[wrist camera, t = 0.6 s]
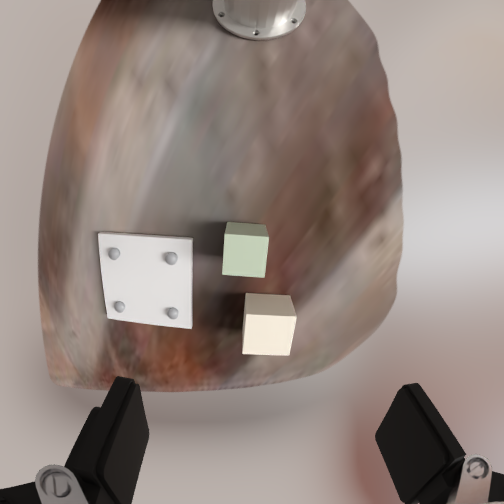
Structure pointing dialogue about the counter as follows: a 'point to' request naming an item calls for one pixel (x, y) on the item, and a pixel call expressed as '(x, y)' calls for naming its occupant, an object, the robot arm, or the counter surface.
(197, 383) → the counter surface
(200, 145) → the counter surface
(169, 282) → the plate
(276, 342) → the cream block
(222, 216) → the counter surface
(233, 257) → the sage block
